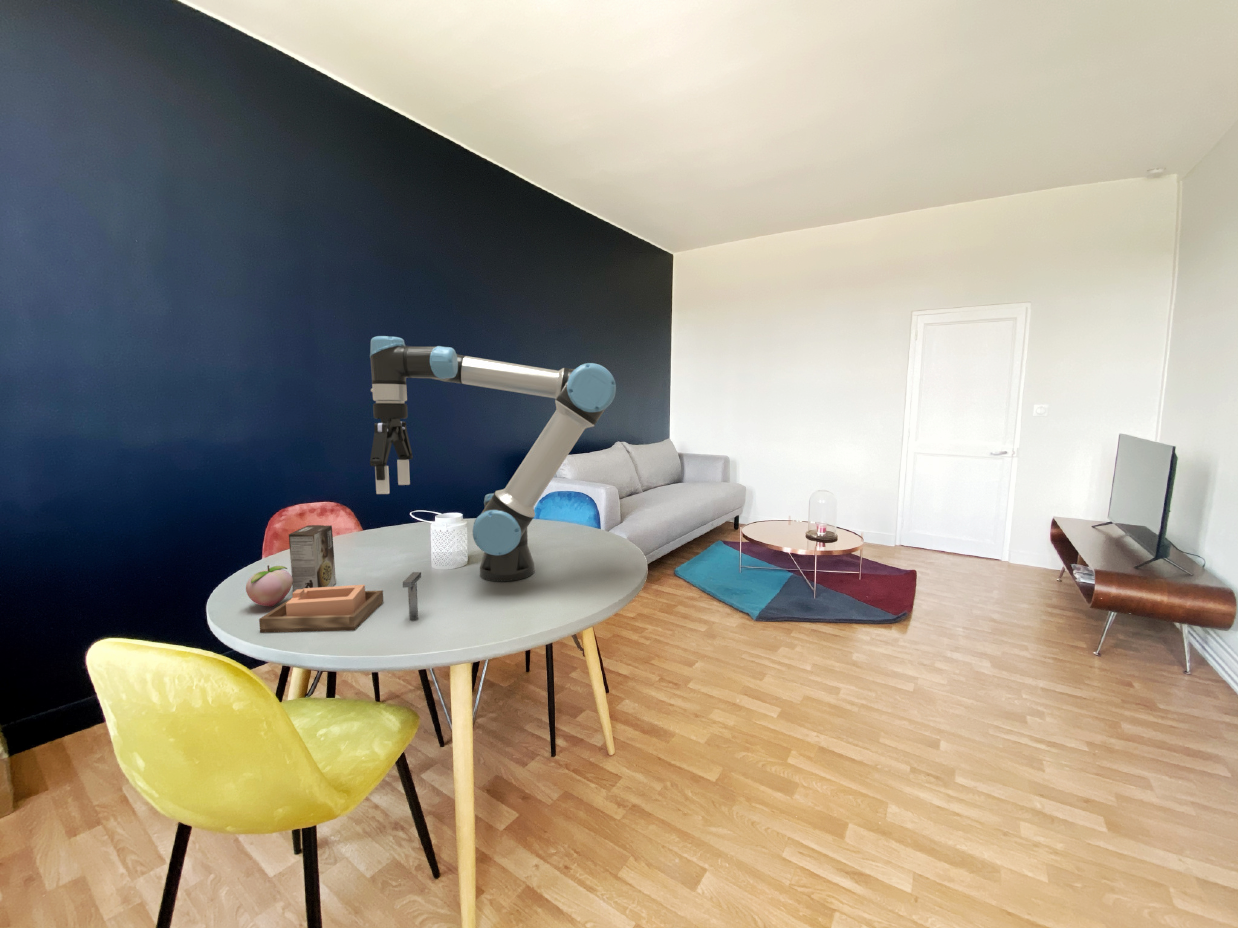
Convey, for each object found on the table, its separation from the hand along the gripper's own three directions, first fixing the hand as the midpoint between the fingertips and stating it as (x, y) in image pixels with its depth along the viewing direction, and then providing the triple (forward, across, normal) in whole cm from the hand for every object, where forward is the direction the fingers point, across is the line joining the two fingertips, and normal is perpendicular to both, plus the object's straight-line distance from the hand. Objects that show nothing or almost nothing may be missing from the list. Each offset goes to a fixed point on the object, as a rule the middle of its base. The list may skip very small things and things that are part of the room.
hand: (394, 489), depth 122 cm
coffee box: (+27, -3, -22) cm, 35 cm away
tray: (+27, +14, -11) cm, 32 cm away
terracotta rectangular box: (+26, +13, -10) cm, 31 cm away
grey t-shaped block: (+27, +16, +9) cm, 32 cm away
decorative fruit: (+27, +7, -27) cm, 39 cm away
